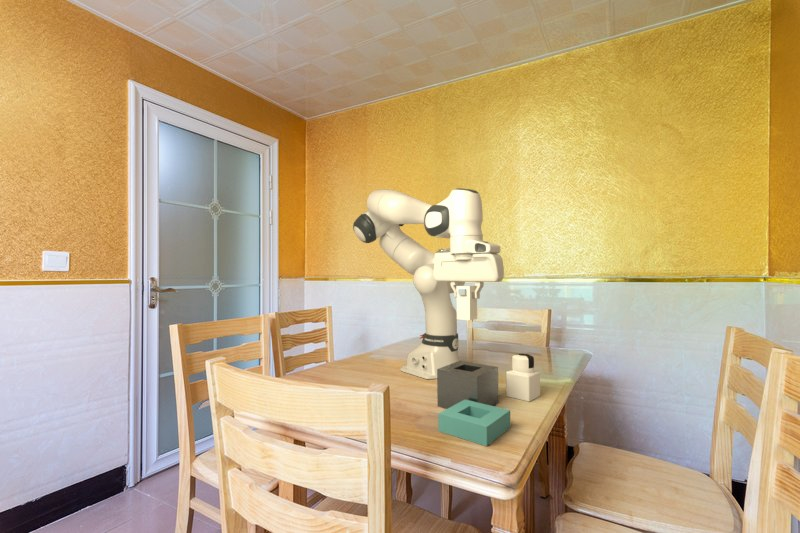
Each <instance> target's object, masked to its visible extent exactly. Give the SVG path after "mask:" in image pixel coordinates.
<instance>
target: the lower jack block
mask: <svg viewBox="0 0 800 533" xmlns="http://www.w3.org/2000/svg"><path fill="white" fill-rule="evenodd" d="M437 418H438V420H437V422H438V432H439V433H443V434H445V435H450V436H453V437H456V438H459V439H463V440H466V441H469V442H472V443H475V444H478V445H481V446H484V447H488V446H489V445H490V444H492V443H493V442H495V440H497V439H498V438H499V437H500V436H502V435H503V434H504V433H506V432H507V431H508V430H510V429H511V410H510V409H507V408H503V407H498V406H490V405H486V404H482V403H478V402H474V401H469V400H463V401H461V402H459V403H457V404H455V405H453V406H452V407H450V408H448V409H446V408H445V410H443V411H441V412H438V414H437Z"/></svg>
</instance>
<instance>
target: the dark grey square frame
mask: <svg viewBox="0 0 800 533" xmlns="http://www.w3.org/2000/svg"><path fill="white" fill-rule="evenodd" d="M436 382H437V384H436V387H437V388H436V389H437V391H436V392H437V407H438V408H439V407H440V408H442V409H445V410H446V409H448V408H450V407H452V406H453V405H455V404H457V403H459V402H461V401H463V400H469V401H474V402H478V403H482V404H486V405H490V406H495V407H497V405H499V403H500V402H499V400H500V399H499V366H494V365H488V364H482V363H477V362H476V363H475V362H472V361H471V362H470V361H465V360H459V361H458V362H455V363H452V364H450V365H447V366H444V367H442V368H439V369H437V378H436Z"/></svg>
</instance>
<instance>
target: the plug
mask: <svg viewBox="0 0 800 533" xmlns="http://www.w3.org/2000/svg"><path fill="white" fill-rule="evenodd" d="M476 288H477V286H475V285H464V286H457V298H456V312H457V320H461V321H462V320H463V321H473V320H477V319H478V299H472V292H475V290H476Z"/></svg>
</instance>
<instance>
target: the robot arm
mask: <svg viewBox="0 0 800 533" xmlns="http://www.w3.org/2000/svg"><path fill="white" fill-rule="evenodd" d="M366 207H367V210H366V211H364V212H363V213H361V214H360V215H359V216H358V217H357V218H356V219H355V221H354V222H353V225H352V229H353V232H354V233H355V235H356V238H358V239H359V240H360V241H361V242H362V243H365V244H371V243H373V242H375V241H377V239H379V241H378V242H379V246H380V248H381V249H382V250H383V251H384V253H385V254H386V255H387V256H388V257H389V258H390V259H391V260H392V261H393V262H395V263H396V264H397V265H398V266H400V267H401V268H402V269H403V270H404V271H406V272H407V273H409V274H410V275H413V278H412V280H413V286H414V288H415V289H416V291H417V292H419V295H420V298H421V301H422V302H423V307H424V308H423V309H424V313H425V314H424V315H425V316H424V317H425V332H424V333H423V334H420V335H419V339H422V340H421V343H420V344H418V345H417V346H416V347H415V348H414V349H412V350H411V351H410V352H409V353H408V355H407V357H406V364H404V365H402V366H401V367H400V371H401V372H404V373H406V374H408V375H412V376H415V377H419V378H422V379H425V380H433V379H434V380H435V379H437V369H439V368H442V367H444V366H447V365H450V364H452V363H455V362H458V361H460V359H459V358H460V357H459V333H458V319H457V309H455V307H454V306H453V303H452V299H451V295H450V294H453V293H454V296H453V297H454V299H457V286H465V284H466V282H474V286H477V288H476V290H475V292H472V299H477V300H479V299H480V298H481V297H480V296H481V295H480V294H481V291H482V289H483V287H484V285H485V284H484V283H485V282H487V283H490V282H491V283H492V282H493V283H499V282H502V280H503V279H504V278H505V271H504V268H505V267H504V261H503V258H502V256H501V254H500V253H501V246H500V245H499V244H495V243H491V242H489V241H484V238H483V236H484V235H483V231H482V225H483V214H484V213H483V203H482V197H481V195H480V192H478V191H477V190H474V189H470V188H460V187H459V188H455V189H452V190H451V191H450V193H449V195H448V196H447V197H446V198H444V199H443V200H442V201H440V202H439V203H436V204H430V203H427V202H425V201H424V200H423V201H422V200H420V199H418V198H416V197H413V196H411V195H408V194H406V193H404V192H402V191H398V190H394V189H386V188H385V189H384V188H383V189H376V190H373V191H371V193H369V195H368V196H367V199H366ZM405 225H423V226H424V229H425V231H426V232H427V235H429V236H431V237H434V238H440V239H441V238H442V239H449V247H448V248H439V249H438V250H437V251H436V252H435V253H434V252H432V251H431V250H428V249H427V248H425V247H424V246H423V245H422V244H420V243H419V242H417V241H416V240H414V239H413V238H412V237H410V236H409V235H407V234H406V233H404V232H403V231H402V229H401V227H403V226H405Z"/></svg>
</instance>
